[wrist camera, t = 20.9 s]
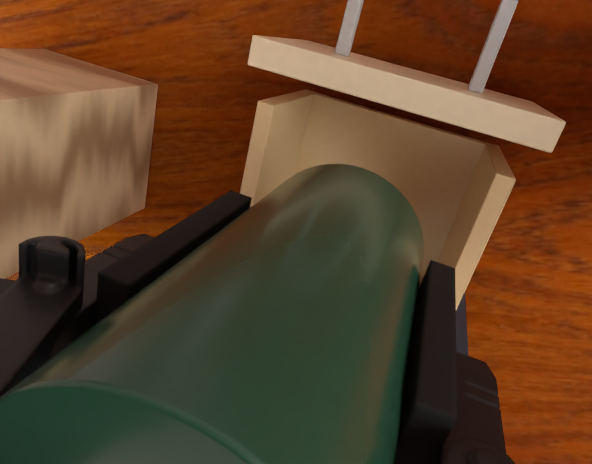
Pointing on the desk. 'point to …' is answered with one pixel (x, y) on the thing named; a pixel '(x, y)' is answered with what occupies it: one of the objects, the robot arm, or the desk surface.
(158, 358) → the tin
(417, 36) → the desk surface
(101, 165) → the stand
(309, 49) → the drawer
